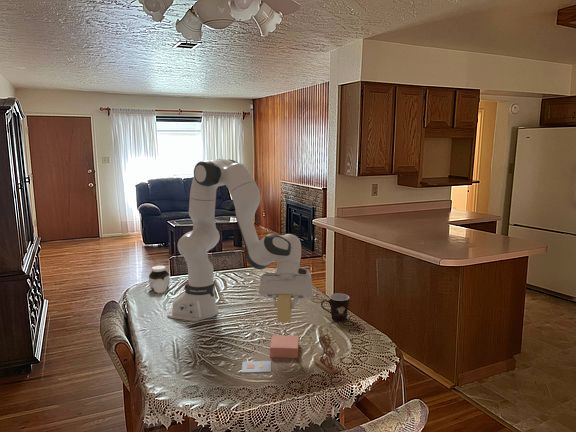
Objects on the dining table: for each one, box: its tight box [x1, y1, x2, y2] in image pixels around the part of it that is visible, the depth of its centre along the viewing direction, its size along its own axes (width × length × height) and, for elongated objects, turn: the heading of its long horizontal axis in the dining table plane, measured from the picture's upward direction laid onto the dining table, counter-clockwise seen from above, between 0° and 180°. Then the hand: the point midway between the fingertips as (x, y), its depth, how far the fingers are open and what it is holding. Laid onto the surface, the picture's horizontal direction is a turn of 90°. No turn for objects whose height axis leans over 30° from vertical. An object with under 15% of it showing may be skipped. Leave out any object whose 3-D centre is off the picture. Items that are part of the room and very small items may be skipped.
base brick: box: [269, 334, 300, 359], centre depth 161 cm, size 10×10×4 cm
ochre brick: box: [276, 294, 292, 323], centre depth 158 cm, size 4×4×9 cm
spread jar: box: [148, 265, 171, 294], centre depth 225 cm, size 12×11×12 cm
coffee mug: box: [320, 293, 350, 323], centre depth 189 cm, size 12×9×10 cm
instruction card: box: [240, 360, 272, 374], centre depth 149 cm, size 10×7×1 cm
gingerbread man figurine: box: [314, 334, 340, 376], centre depth 148 cm, size 9×4×12 cm, turn 33°
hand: (284, 307), depth 157 cm, fingers closed on ochre brick, 4 cm apart
